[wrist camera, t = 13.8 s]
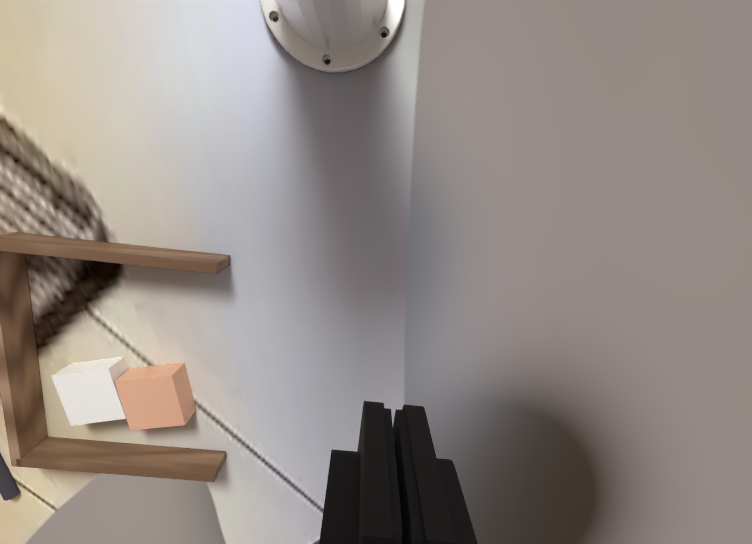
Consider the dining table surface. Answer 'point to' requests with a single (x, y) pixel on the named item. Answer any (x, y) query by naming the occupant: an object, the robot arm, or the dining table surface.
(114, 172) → the dining table surface
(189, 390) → the terracotta tile
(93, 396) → the white square tile
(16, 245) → the frame
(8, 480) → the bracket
